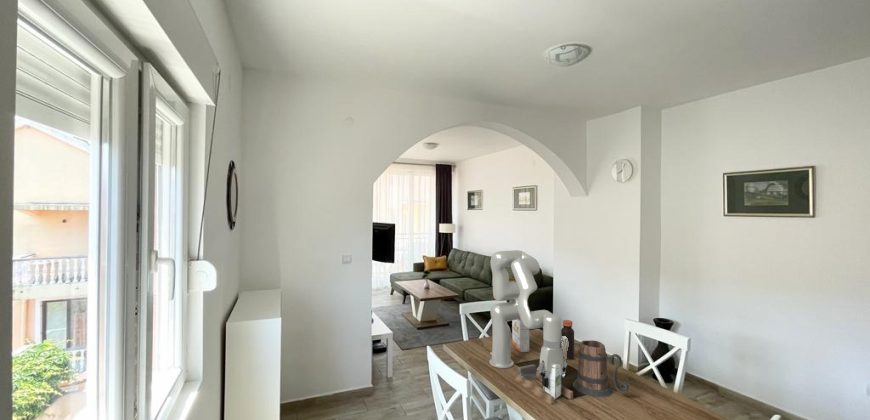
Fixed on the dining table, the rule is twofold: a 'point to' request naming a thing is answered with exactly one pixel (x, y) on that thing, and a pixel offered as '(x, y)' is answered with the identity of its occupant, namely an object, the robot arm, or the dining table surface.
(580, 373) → the tankard
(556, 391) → the syrup box
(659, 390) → the dining table surface
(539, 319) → the robot arm
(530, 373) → the channel
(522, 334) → the cracker box
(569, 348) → the bottle
